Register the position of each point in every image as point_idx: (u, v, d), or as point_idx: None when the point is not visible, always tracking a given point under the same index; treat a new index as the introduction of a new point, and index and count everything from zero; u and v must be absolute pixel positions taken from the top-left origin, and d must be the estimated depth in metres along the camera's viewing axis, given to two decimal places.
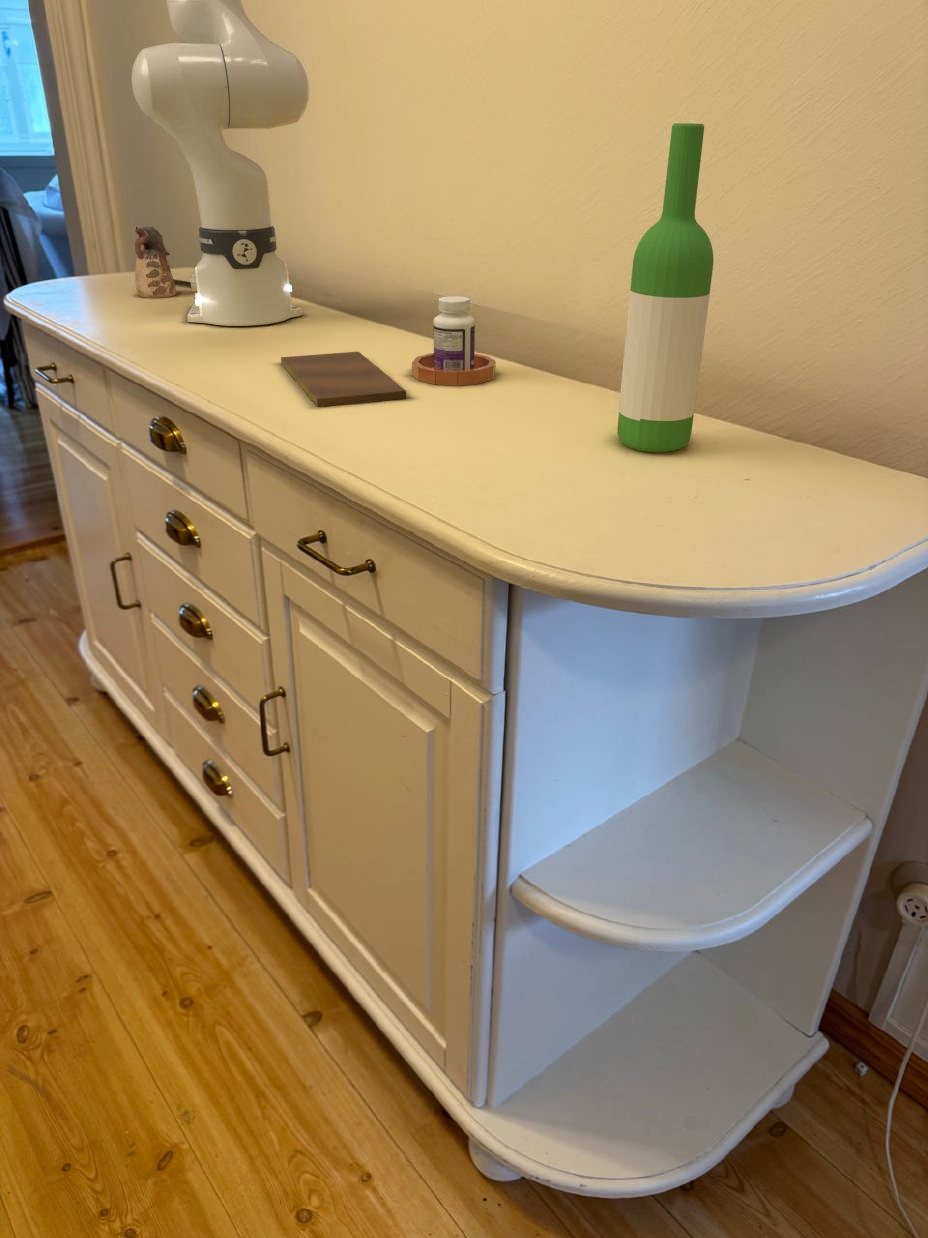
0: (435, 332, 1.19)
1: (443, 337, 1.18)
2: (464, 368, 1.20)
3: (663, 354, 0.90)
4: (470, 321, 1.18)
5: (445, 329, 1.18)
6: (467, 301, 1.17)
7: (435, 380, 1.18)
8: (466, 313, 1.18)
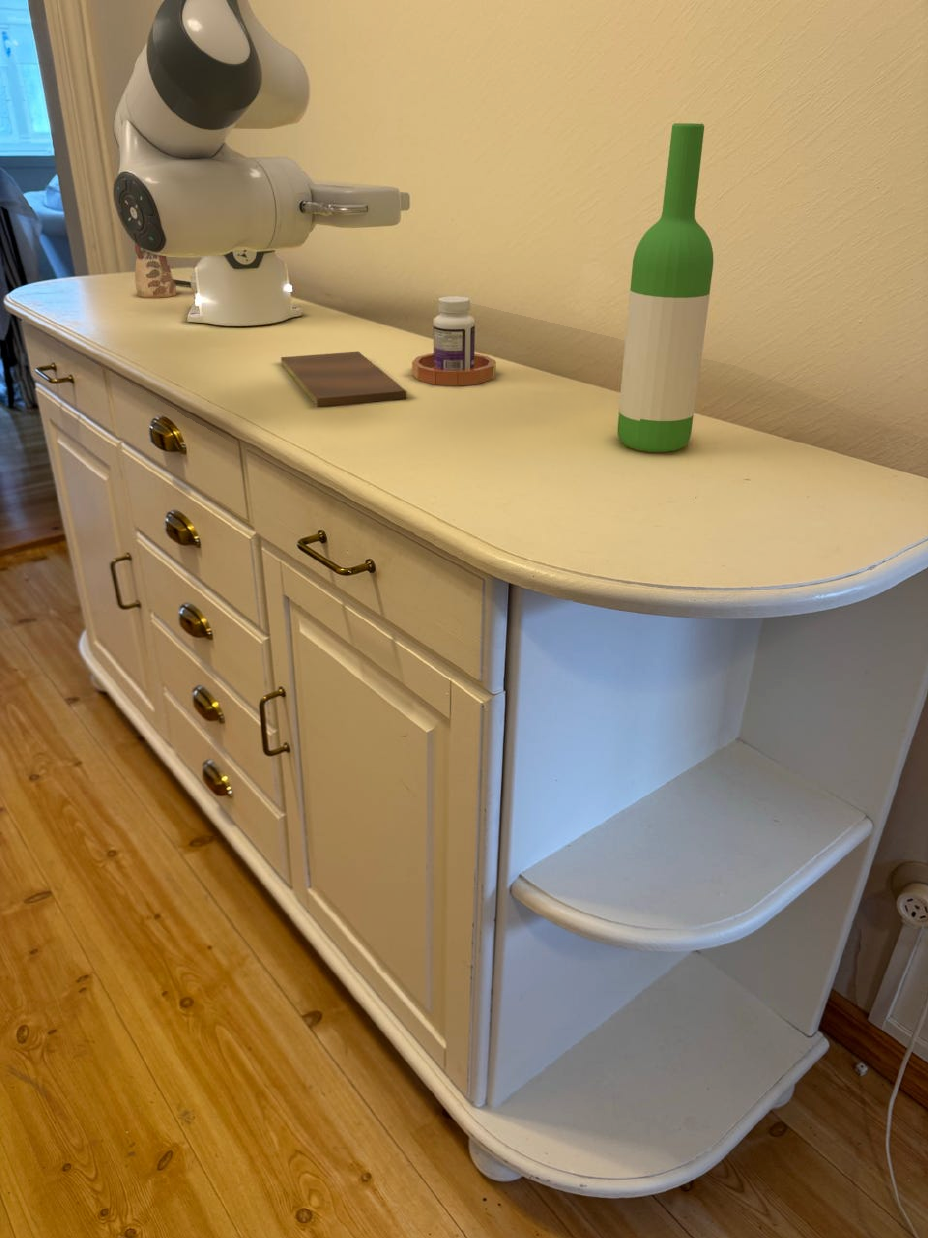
0: (435, 332, 1.19)
1: (443, 337, 1.18)
2: (464, 368, 1.20)
3: (663, 354, 0.90)
4: (470, 321, 1.18)
5: (445, 329, 1.18)
6: (467, 301, 1.17)
7: (435, 380, 1.18)
8: (466, 313, 1.18)
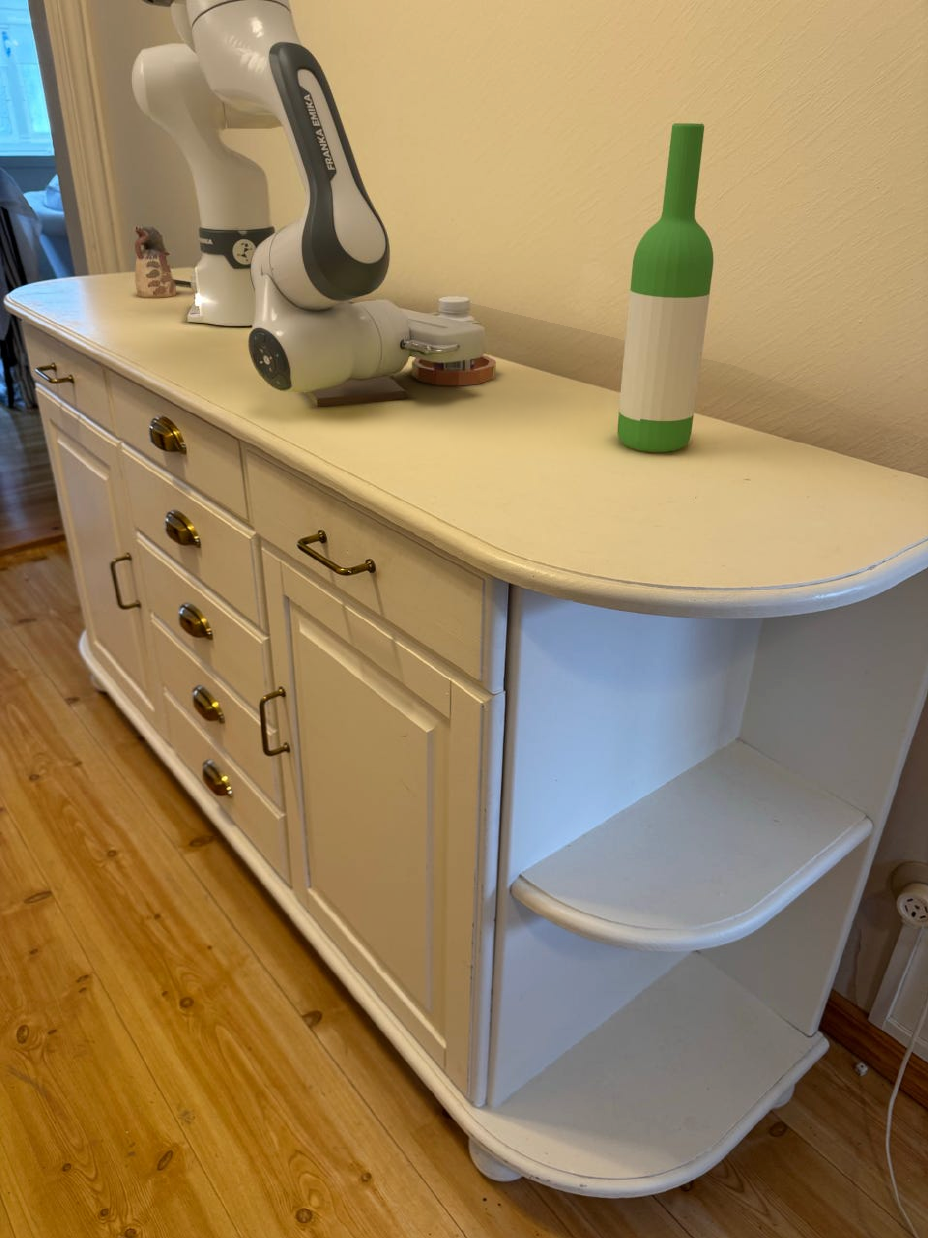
0: None
1: None
2: (464, 368, 1.20)
3: (663, 354, 0.90)
4: None
5: None
6: (467, 301, 1.17)
7: (435, 380, 1.18)
8: (466, 313, 1.18)
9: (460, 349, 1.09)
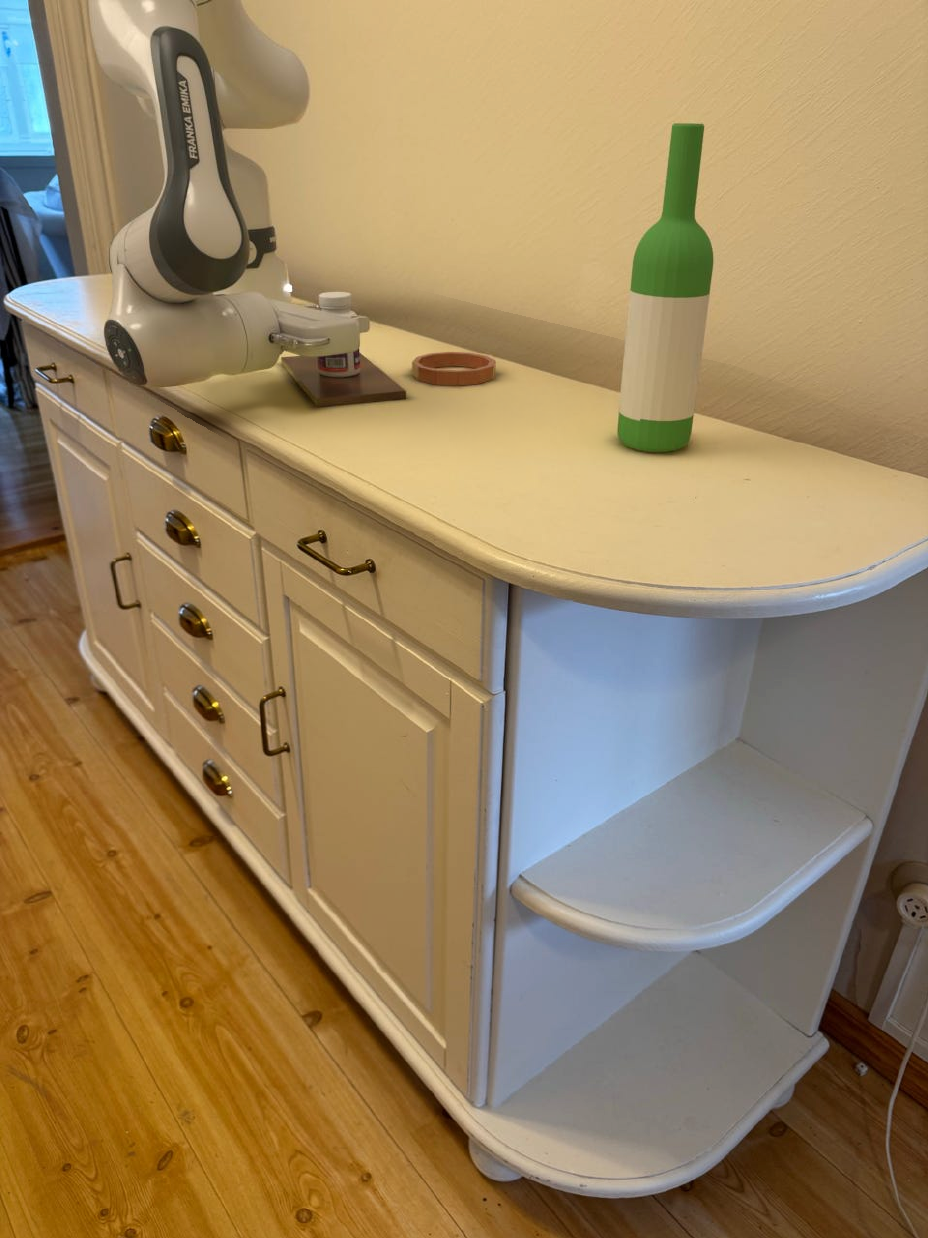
0: None
1: None
2: (347, 366, 1.16)
3: (663, 354, 0.90)
4: None
5: None
6: (347, 297, 1.14)
7: (435, 380, 1.18)
8: (347, 309, 1.15)
9: (331, 343, 1.05)
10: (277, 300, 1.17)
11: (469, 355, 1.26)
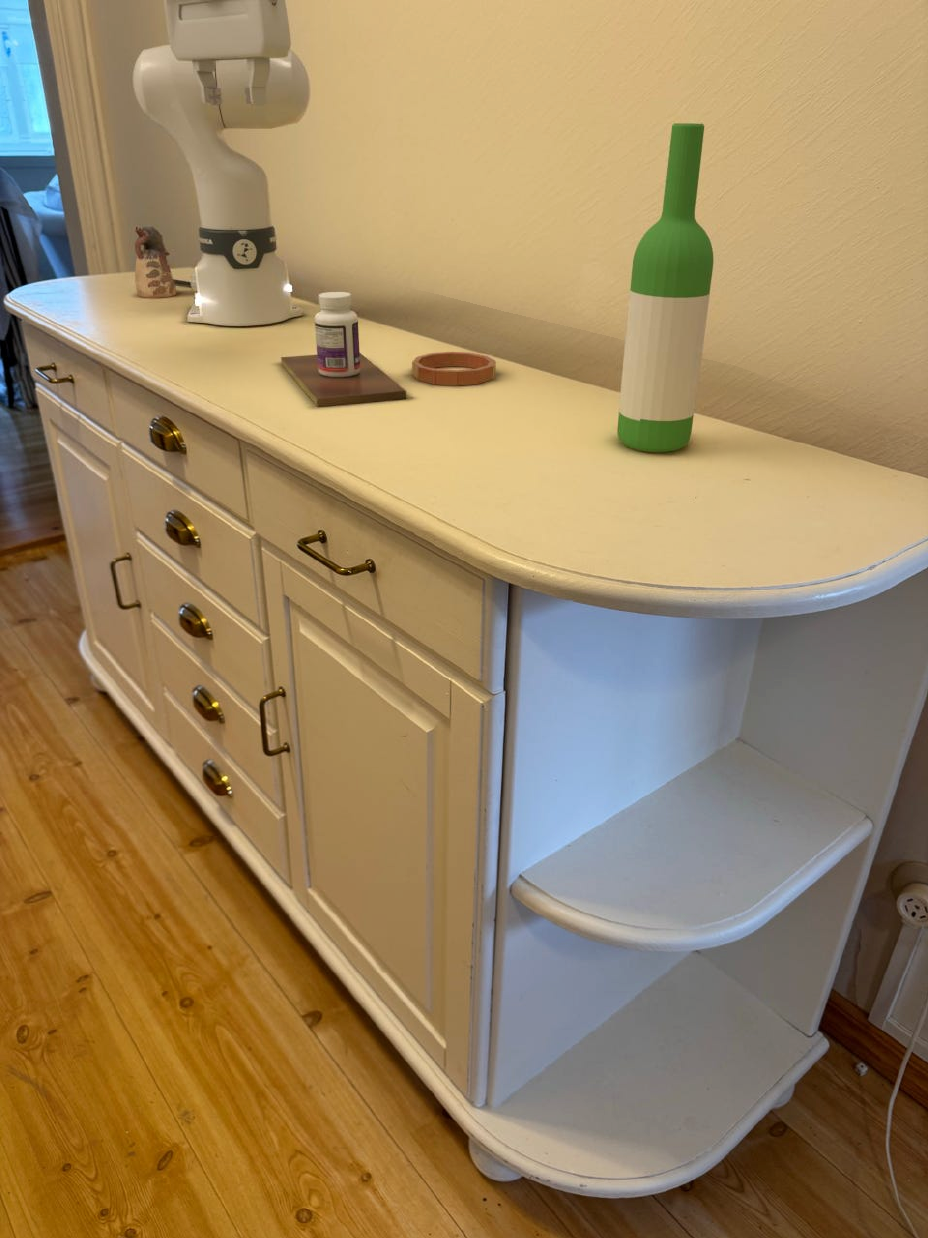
0: (316, 329, 1.15)
1: (323, 334, 1.15)
2: (347, 366, 1.16)
3: (663, 354, 0.90)
4: (351, 317, 1.14)
5: (325, 325, 1.14)
6: (347, 297, 1.14)
7: (435, 380, 1.18)
8: (347, 309, 1.15)
9: (271, 6, 0.98)
10: None
11: (469, 355, 1.26)
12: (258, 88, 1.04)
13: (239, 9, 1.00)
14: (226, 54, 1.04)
